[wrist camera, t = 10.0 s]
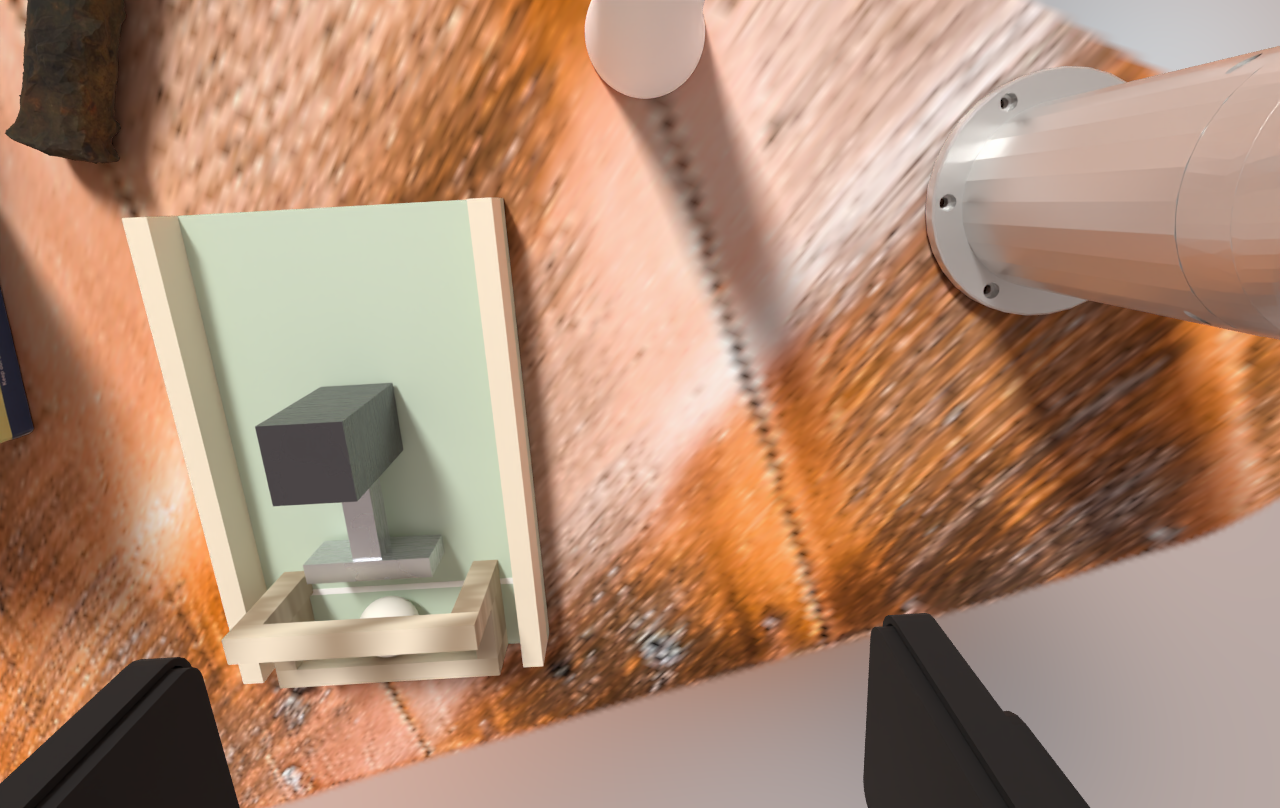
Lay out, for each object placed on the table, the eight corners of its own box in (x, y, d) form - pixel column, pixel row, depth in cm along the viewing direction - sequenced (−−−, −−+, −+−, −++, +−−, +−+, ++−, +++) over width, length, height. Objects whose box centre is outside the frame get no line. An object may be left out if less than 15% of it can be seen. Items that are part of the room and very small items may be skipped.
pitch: (503, 198, 36) (491, 197, 33) (549, 632, 44) (543, 666, 41) (166, 216, 36) (121, 218, 33) (271, 648, 44) (243, 683, 41)
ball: (417, 668, 40) (431, 622, 43) (404, 626, 38) (419, 581, 41) (358, 671, 40) (376, 625, 43) (342, 630, 38) (362, 584, 41)
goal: (497, 559, 41) (474, 625, 35) (508, 643, 43) (487, 721, 37) (284, 571, 41) (221, 640, 35) (303, 655, 43) (246, 735, 37)
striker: (419, 381, 38) (375, 419, 31) (445, 551, 41) (409, 620, 34) (293, 388, 38) (222, 428, 31) (328, 558, 41) (270, 628, 34)
